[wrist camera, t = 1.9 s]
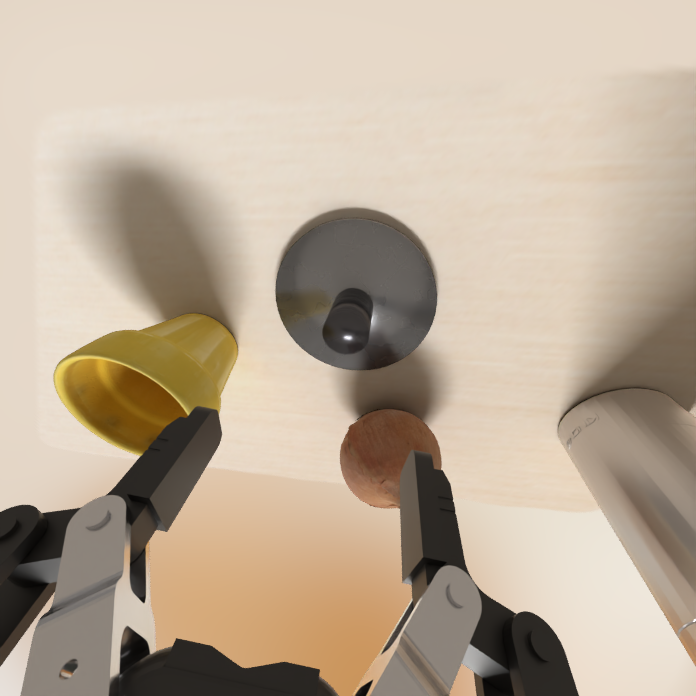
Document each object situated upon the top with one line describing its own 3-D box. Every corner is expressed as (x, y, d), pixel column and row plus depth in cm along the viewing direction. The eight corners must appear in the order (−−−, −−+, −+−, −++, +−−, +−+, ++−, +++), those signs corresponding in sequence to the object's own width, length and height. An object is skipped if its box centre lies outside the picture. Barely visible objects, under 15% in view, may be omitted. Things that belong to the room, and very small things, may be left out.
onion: (423, 401, 32) (484, 481, 24) (371, 453, 34) (412, 541, 27) (366, 373, 26) (423, 465, 19) (310, 438, 29) (338, 543, 21)
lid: (460, 235, 19) (481, 257, 15) (410, 375, 27) (413, 418, 22) (280, 201, 20) (246, 213, 15) (279, 349, 27) (256, 386, 23)
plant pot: (140, 282, 25) (17, 340, 17) (253, 304, 24) (183, 373, 16) (167, 371, 31) (86, 446, 22) (258, 390, 30) (209, 472, 22)
